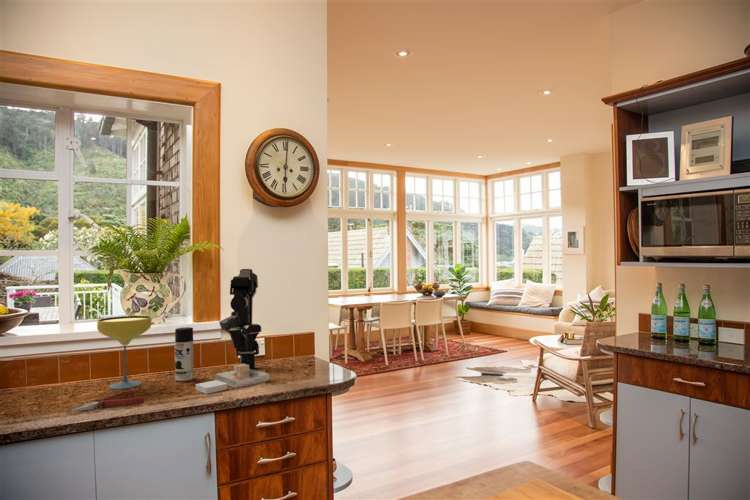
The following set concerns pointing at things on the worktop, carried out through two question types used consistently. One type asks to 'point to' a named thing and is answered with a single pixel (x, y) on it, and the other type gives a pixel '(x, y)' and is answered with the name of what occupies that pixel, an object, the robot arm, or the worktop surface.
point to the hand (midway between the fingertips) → (241, 349)
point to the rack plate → (242, 378)
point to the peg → (241, 370)
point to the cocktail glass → (124, 338)
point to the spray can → (184, 354)
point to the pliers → (111, 401)
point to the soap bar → (211, 386)
